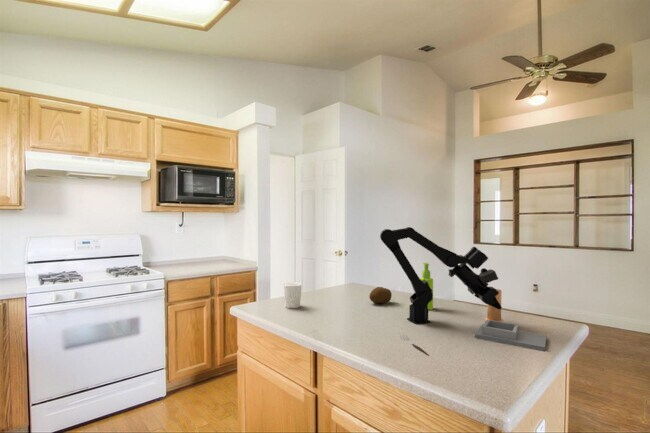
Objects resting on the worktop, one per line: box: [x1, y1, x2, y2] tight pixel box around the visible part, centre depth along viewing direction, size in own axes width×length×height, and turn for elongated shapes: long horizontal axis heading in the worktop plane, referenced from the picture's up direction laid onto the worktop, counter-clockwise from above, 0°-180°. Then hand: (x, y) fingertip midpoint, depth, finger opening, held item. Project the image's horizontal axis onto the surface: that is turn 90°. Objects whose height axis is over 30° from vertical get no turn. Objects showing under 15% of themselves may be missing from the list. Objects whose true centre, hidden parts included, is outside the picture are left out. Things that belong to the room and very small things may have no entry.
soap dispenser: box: [419, 262, 434, 311], centre depth 154 cm, size 6×7×20 cm
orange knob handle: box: [484, 288, 504, 323], centre depth 132 cm, size 6×6×13 cm
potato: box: [369, 286, 392, 304], centre depth 162 cm, size 8×12×8 cm, turn 130°
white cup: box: [283, 282, 303, 309], centre depth 156 cm, size 8×8×10 cm
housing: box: [474, 319, 547, 352], centre depth 117 cm, size 20×13×4 cm, turn 55°
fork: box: [398, 332, 430, 357], centre depth 109 cm, size 3×16×2 cm, turn 16°
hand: (498, 306), depth 132 cm, fingers closed on orange knob handle, 5 cm apart
